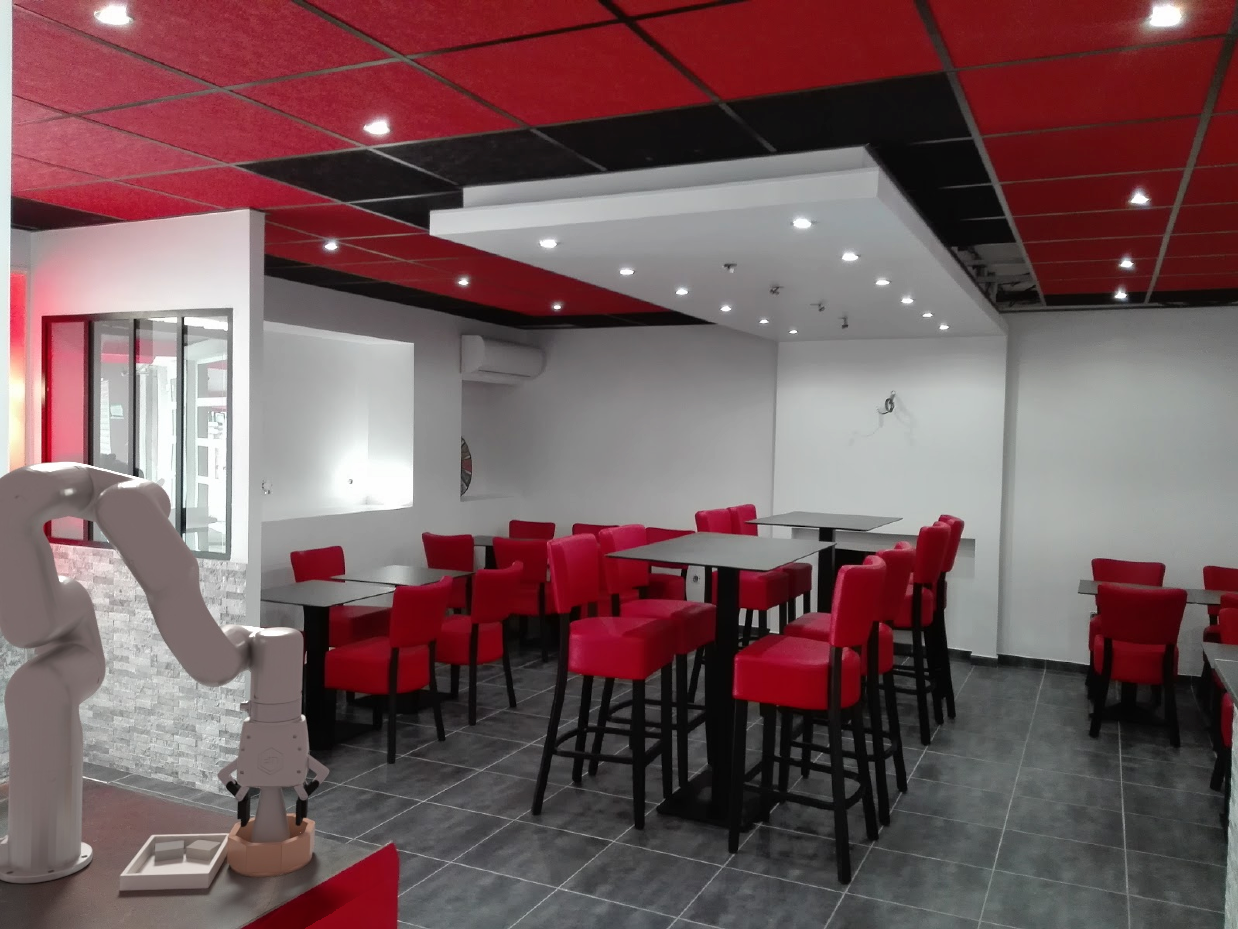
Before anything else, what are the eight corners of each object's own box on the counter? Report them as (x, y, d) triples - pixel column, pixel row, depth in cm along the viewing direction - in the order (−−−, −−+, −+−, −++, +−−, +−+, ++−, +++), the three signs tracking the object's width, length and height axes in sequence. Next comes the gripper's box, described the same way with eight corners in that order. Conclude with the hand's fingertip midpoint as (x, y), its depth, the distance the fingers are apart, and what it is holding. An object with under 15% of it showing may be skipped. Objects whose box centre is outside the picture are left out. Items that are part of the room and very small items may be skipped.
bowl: (220, 878, 143) (221, 846, 143) (239, 844, 155) (240, 814, 155) (305, 876, 145) (306, 844, 145) (317, 842, 157) (318, 813, 157)
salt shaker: (276, 864, 147) (278, 779, 146) (242, 860, 148) (243, 776, 147) (296, 848, 153) (298, 766, 152) (263, 844, 154) (264, 763, 153)
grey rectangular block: (154, 862, 148) (154, 851, 148) (155, 853, 150) (155, 843, 150) (183, 858, 149) (183, 848, 149) (183, 850, 152) (183, 840, 152)
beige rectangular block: (185, 857, 150) (186, 847, 150) (197, 849, 153) (198, 839, 152) (209, 861, 149) (209, 850, 149) (220, 852, 152) (221, 842, 152)
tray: (119, 891, 139) (119, 875, 138) (151, 848, 152) (151, 835, 152) (208, 888, 140) (208, 873, 140) (231, 847, 154) (232, 833, 154)
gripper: (209, 717, 144) (206, 834, 145) (330, 716, 147) (327, 832, 148) (222, 702, 152) (219, 814, 152) (337, 702, 155) (334, 812, 155)
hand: (272, 822), depth 150 cm, fingers open, 7 cm apart
